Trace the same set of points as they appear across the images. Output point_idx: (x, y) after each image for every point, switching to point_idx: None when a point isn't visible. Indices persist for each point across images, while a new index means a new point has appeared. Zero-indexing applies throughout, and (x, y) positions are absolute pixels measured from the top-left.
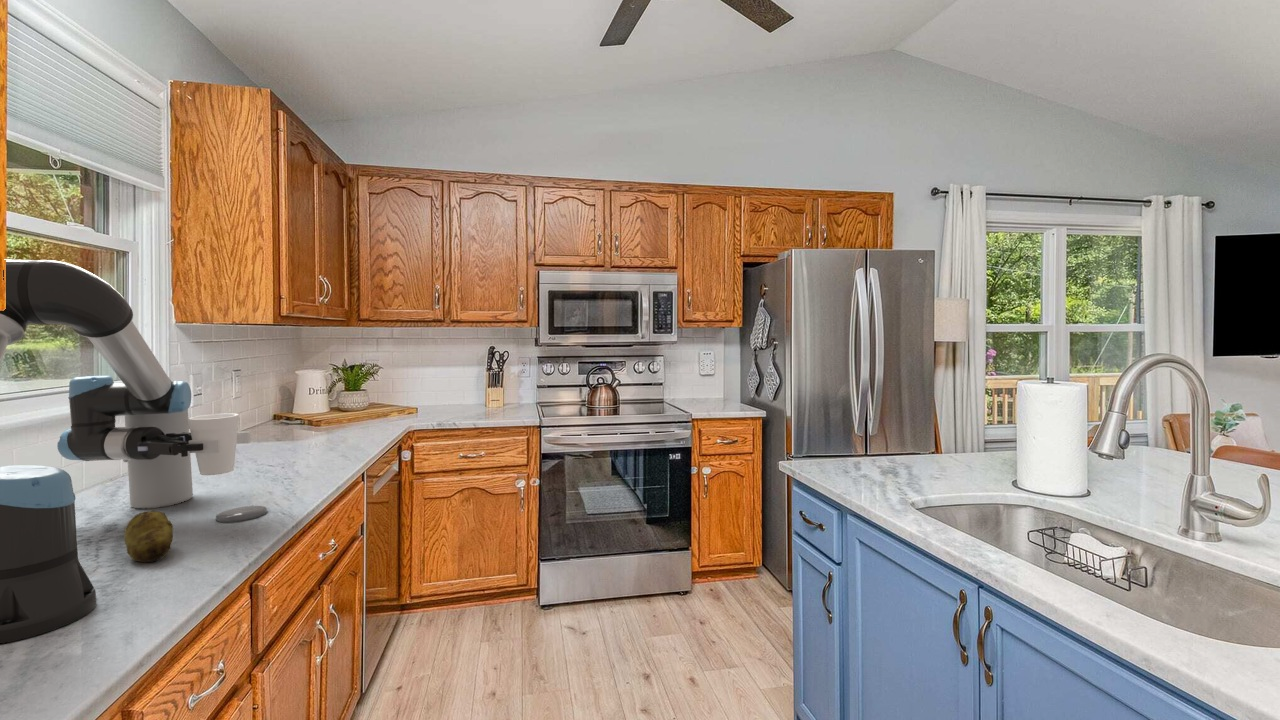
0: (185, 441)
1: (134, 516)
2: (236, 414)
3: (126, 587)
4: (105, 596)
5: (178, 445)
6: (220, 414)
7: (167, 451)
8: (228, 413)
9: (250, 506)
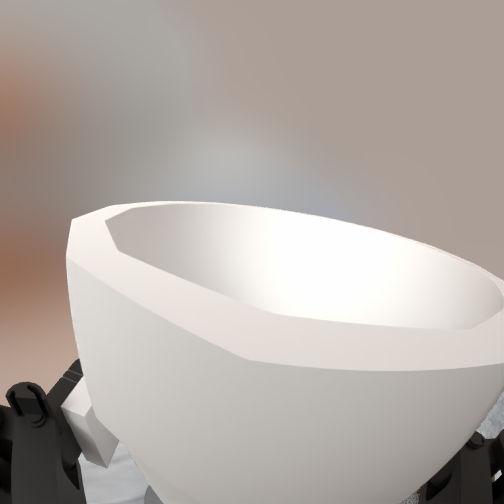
0: (461, 451)
1: (492, 479)
2: (219, 204)
3: (488, 424)
4: (500, 421)
5: (489, 444)
6: (110, 225)
7: (501, 489)
8: (123, 206)
9: (150, 501)
